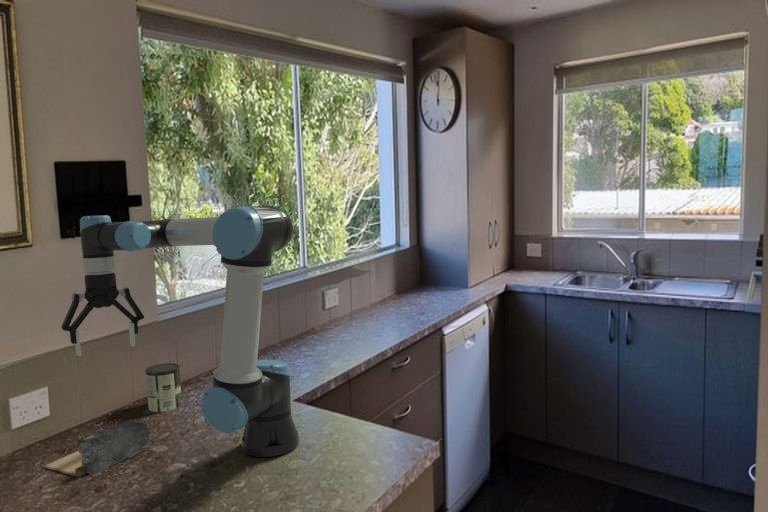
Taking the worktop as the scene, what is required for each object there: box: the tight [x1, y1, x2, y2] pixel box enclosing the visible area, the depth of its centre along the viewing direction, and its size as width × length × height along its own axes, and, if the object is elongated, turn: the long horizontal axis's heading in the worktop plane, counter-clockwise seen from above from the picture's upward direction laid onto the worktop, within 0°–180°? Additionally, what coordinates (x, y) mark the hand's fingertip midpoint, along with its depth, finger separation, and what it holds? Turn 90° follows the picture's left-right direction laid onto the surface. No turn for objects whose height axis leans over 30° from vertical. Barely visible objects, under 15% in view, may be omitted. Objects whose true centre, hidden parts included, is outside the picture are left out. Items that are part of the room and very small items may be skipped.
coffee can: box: [144, 362, 183, 413], centre depth 183 cm, size 10×10×14 cm
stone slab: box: [77, 420, 150, 476], centre depth 146 cm, size 18×2×10 cm, turn 145°
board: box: [44, 450, 88, 478], centre depth 150 cm, size 13×18×2 cm
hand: (106, 350), depth 156 cm, fingers open, 13 cm apart
